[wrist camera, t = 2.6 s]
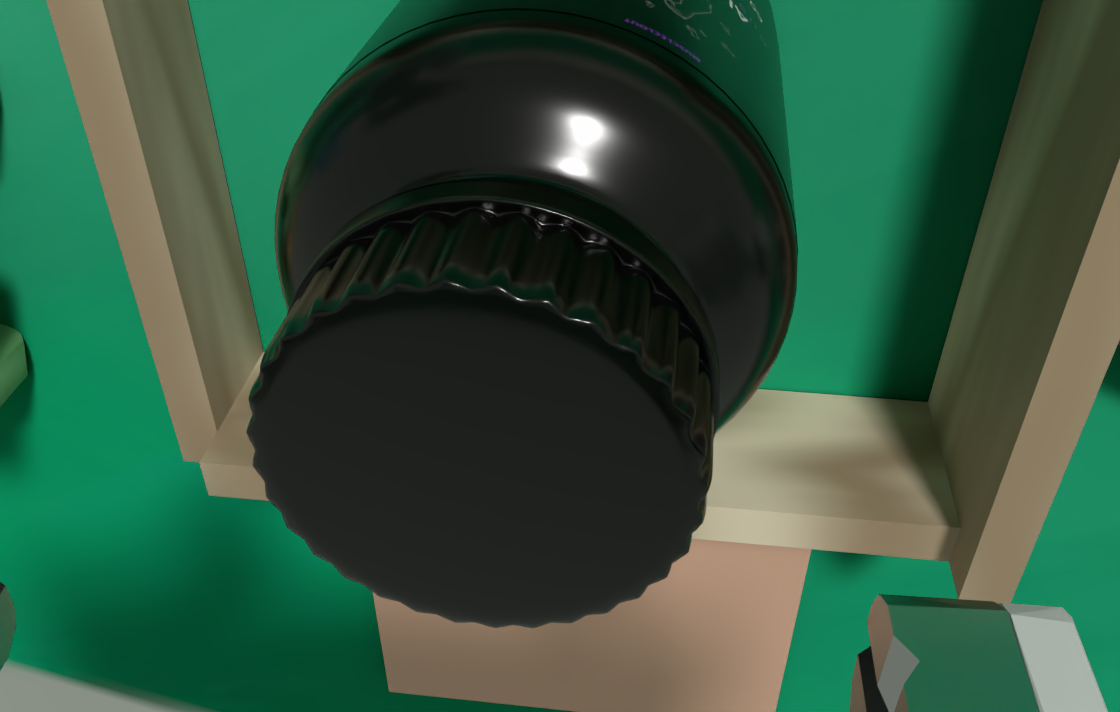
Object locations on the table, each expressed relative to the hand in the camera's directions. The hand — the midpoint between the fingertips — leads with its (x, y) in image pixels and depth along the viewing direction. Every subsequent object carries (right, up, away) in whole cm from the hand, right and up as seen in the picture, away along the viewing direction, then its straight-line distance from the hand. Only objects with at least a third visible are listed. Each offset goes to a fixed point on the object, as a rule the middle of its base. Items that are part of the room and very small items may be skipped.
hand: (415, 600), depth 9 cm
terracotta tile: (+2, -5, +20) cm, 21 cm away
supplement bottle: (+2, +8, +11) cm, 14 cm away
